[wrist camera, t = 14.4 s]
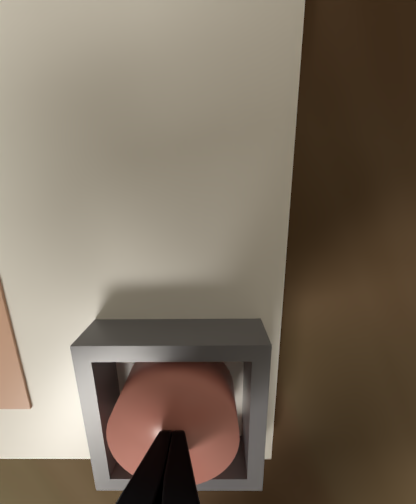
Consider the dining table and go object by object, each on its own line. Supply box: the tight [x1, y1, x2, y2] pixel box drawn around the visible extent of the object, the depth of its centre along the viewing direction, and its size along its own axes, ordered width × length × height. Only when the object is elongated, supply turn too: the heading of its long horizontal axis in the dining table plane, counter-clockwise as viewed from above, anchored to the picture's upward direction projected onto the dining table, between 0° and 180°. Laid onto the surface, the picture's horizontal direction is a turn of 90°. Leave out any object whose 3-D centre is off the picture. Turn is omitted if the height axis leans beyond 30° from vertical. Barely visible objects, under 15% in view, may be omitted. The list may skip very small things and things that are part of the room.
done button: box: [106, 362, 240, 485], centre depth 8 cm, size 4×4×2 cm
